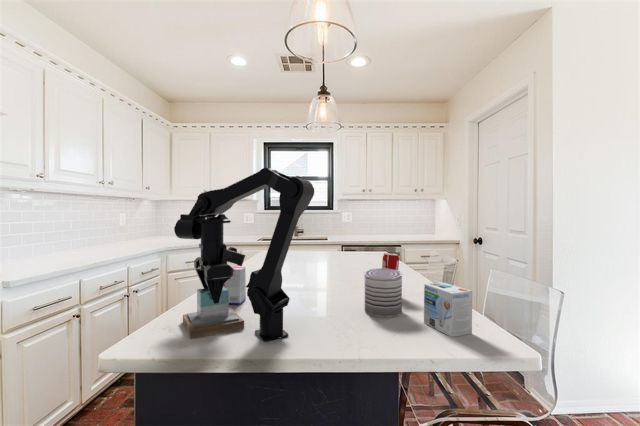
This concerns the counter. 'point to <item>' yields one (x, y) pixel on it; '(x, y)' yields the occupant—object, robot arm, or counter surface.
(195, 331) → the square wooden frame
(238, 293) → the supplement box
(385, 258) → the beverage can
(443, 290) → the light bulb box
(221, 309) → the teal and white box
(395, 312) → the can
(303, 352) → the counter surface
